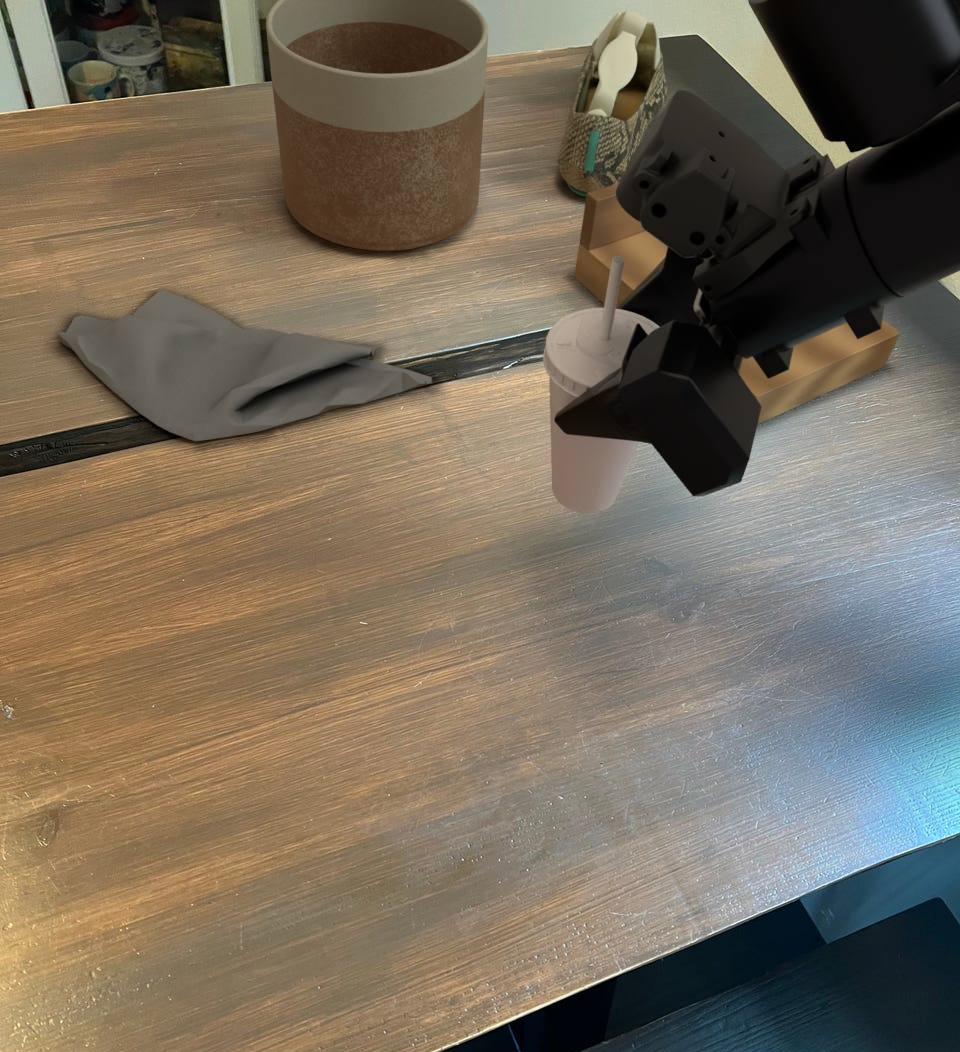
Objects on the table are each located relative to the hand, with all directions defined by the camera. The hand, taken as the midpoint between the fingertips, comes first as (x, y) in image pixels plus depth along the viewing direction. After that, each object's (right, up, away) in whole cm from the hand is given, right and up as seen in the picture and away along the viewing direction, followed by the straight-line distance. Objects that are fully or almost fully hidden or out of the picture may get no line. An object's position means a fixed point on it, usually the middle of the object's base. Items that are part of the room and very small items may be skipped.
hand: (577, 383), depth 50 cm
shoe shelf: (+14, +11, +25) cm, 31 cm away
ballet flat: (+7, +33, +41) cm, 53 cm away
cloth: (-22, +5, +19) cm, 29 cm away
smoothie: (+1, -5, +6) cm, 7 cm away
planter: (-13, +23, +32) cm, 42 cm away
